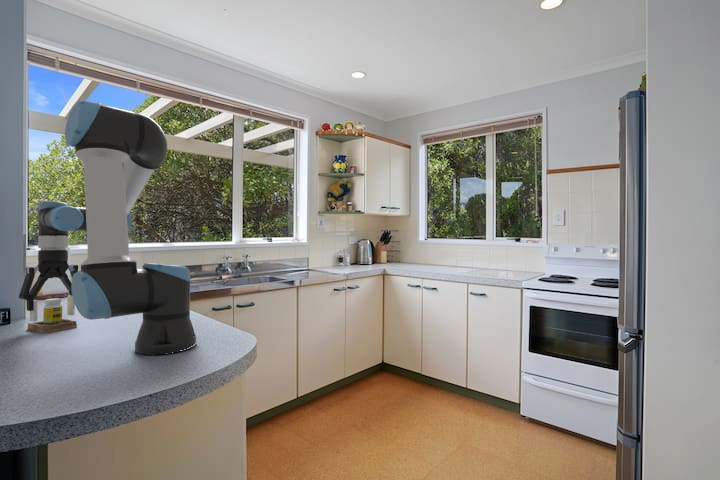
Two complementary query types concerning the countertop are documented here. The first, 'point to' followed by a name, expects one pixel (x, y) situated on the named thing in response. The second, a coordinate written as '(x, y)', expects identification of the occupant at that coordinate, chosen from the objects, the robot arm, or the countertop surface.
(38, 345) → the countertop surface
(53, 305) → the supplement bottle
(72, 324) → the dock board
